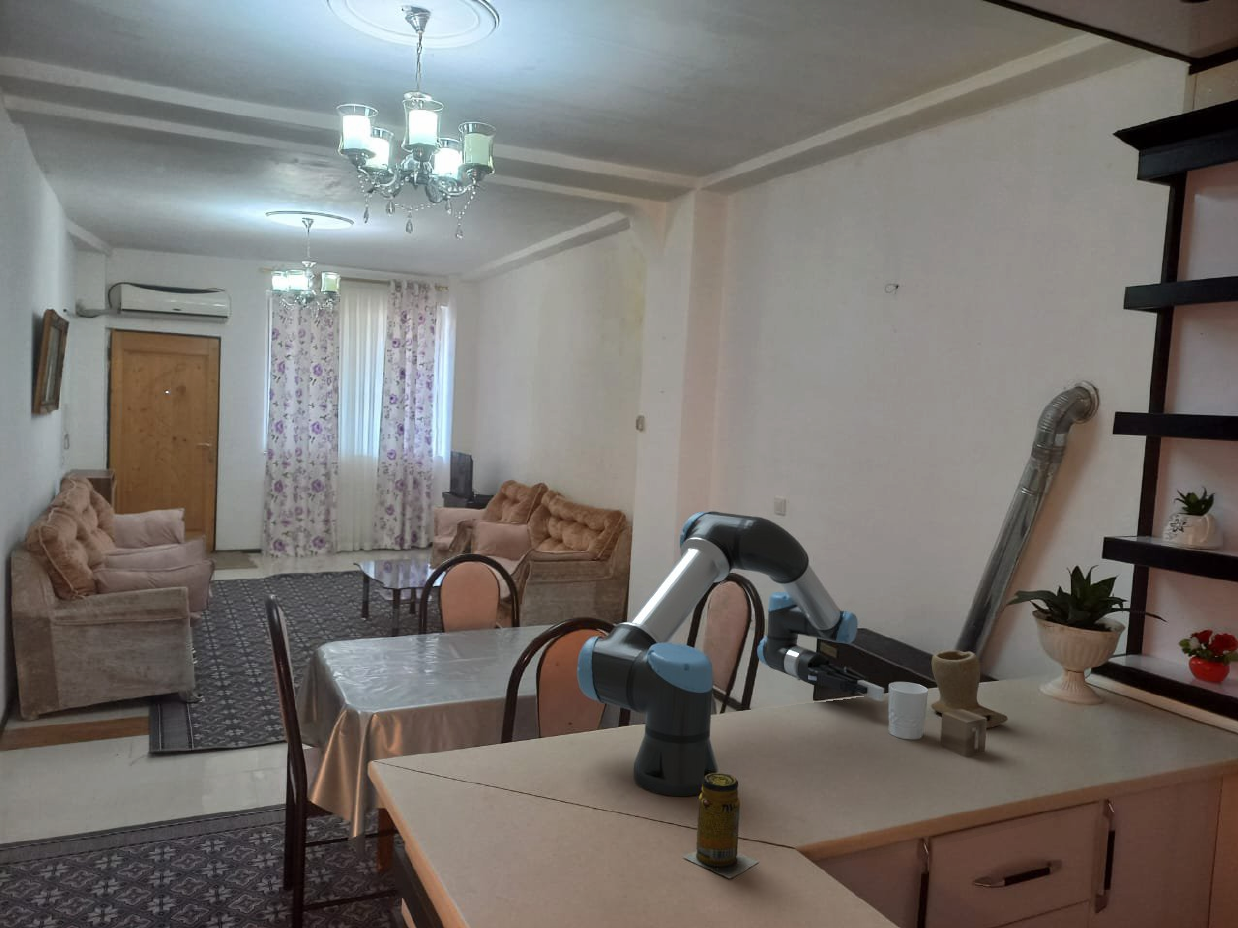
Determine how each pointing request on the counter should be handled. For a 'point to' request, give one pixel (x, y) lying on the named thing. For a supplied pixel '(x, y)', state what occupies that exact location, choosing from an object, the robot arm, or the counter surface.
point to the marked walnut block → (963, 732)
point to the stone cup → (960, 685)
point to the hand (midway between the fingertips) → (881, 694)
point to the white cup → (907, 709)
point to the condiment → (719, 827)
